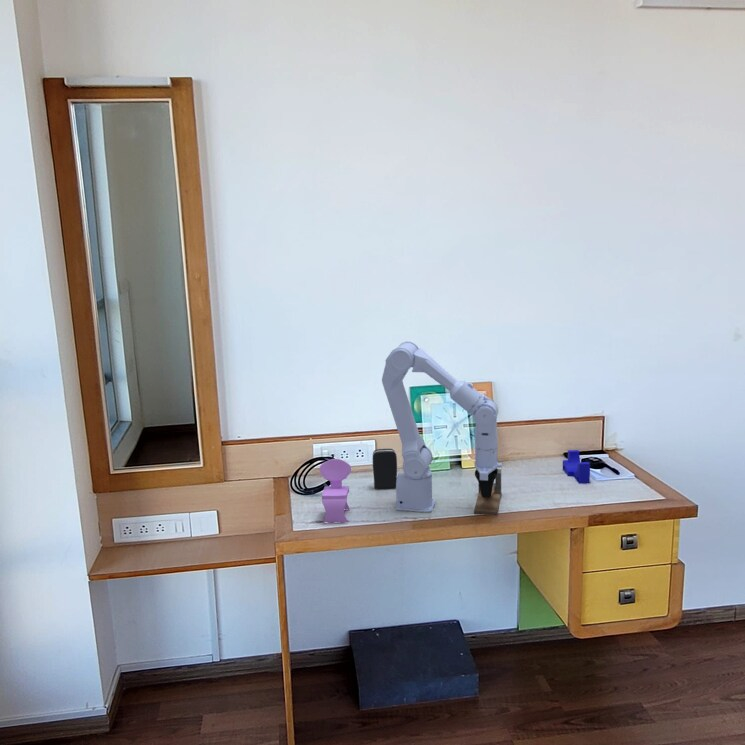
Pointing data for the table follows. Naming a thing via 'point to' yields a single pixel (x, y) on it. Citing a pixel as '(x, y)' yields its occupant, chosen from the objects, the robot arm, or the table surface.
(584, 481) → the blue stepped block
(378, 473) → the battery
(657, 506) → the table surface
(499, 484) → the housing
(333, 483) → the toy chair
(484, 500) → the board
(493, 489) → the light bulb
